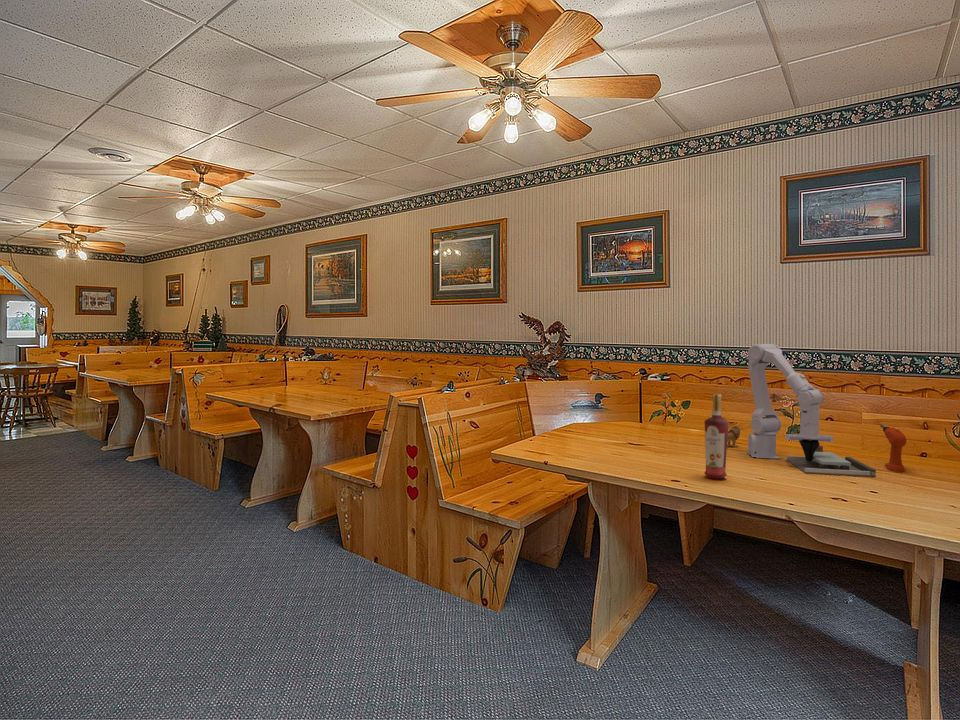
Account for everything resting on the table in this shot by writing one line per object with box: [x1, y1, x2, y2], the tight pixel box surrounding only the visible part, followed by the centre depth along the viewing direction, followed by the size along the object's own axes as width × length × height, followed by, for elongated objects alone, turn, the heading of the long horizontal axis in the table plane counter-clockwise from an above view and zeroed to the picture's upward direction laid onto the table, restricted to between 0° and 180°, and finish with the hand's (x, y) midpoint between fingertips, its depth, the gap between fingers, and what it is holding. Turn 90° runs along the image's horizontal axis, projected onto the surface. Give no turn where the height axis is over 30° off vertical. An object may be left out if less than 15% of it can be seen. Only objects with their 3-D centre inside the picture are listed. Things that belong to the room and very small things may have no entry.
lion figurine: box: [727, 424, 741, 448], centre depth 222 cm, size 15×5×9 cm, turn 111°
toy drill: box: [879, 424, 907, 473], centre depth 189 cm, size 5×19×15 cm, turn 161°
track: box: [786, 455, 877, 478], centre depth 186 cm, size 21×19×2 cm
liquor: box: [703, 393, 730, 480], centre depth 174 cm, size 7×7×28 cm
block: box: [815, 444, 824, 452], centre depth 203 cm, size 4×4×5 cm
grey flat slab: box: [812, 451, 851, 470], centre depth 187 cm, size 9×16×3 cm, turn 166°
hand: (808, 460), depth 188 cm, fingers closed
